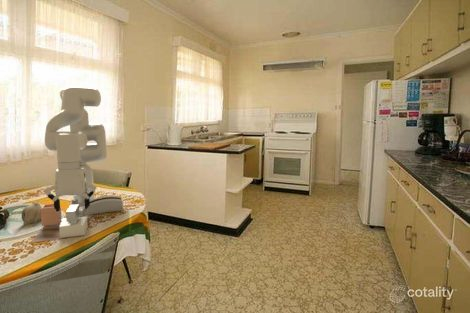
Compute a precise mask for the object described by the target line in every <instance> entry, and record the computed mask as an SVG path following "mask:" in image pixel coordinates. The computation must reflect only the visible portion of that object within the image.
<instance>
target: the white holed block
mask: <svg viewBox="0 0 470 313" xmlns="http://www.w3.org/2000/svg"><path fill="white" fill-rule="evenodd" d="M88 227H89V225H87V217H78V218H77V223H71V222H67V219H64V220H63V222H62V223H61V225H60V226H59V229H60V238H64V237H72V236H81V235H84V236H85V234H86V232H87V230H88Z"/></svg>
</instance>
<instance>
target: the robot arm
mask: <svg viewBox="0 0 470 313" xmlns="http://www.w3.org/2000/svg"><path fill="white" fill-rule="evenodd" d="M101 96H102V95H101V92H100V91H99V89H97V88H94V87H86V86H85V87H82V86H69V87H64V88H61V89H60V91H59V98H60V99H61V107H60V112H58V113H57V114H55V115H54V116H53V117H51V118H50V119H49V120H48V122H47V124H46V128H45V132H44V145H45V147H46V149H48V150H49V151H53V152H56V159H57V169H56V171H55V178H54V184H53V185H52V186H50V187H47V188H46V189H45V190H43V191H44V194H45V195H46V197H47V198H48V199H50V200H52V202H53V204H54V209H56V212H58V211H59V210H60V208H61V200H60V199H59V198H60V197H70V196H71V197H72V196H73V200H74V199H77V200H78V204H79V207H82V206H85V210H86V209H87V208H88V206H90V200H92V199H95V198H96V197H95V192H96V190H97V186H96V185H94V171H93V168H92V167H91V166H90V164H88V163H95V162H97V163H98V162H103V161H106V159H107V138H106V137H107V136H106V135H107V134H106V130H105V127H104V124H102V123H97V122H96V123H95V122H93V123H92V122H90V120H89V113H88V111H87V110H86V108H85V107H99V106H100V105H101V102H102V97H101ZM68 126H69V130H70V131H59V130H61V129H62V128H65V127H68ZM89 142H95V143H89ZM53 190H54V193H55V195H54V194H53V193H52V192H51V191H53ZM70 205H72V204H71V203H70Z"/></svg>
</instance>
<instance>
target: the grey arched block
mask: <svg viewBox="0 0 470 313" xmlns="http://www.w3.org/2000/svg"><path fill="white" fill-rule="evenodd" d="M94 198H95V199H92V200H90V206H88V208H87V209H85V215H86V216H90V215H95V214H102V213H110V212H120V211H121V212H123V211H124V203H123V198H122V197H121V196H118V195H117V196H116V195H105V196H104V195H103V196H99V197H94Z"/></svg>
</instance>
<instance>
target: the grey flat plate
mask: <svg viewBox="0 0 470 313" xmlns="http://www.w3.org/2000/svg"><path fill="white" fill-rule="evenodd" d="M91 220H92V217H91V216H89V219H88V221H87V225H88V226H89V225H90V222H91ZM41 227H42V228H41V229H40V230H39V231H38V232H37V234H36V235H35V236H34V238H33V239H32V240H31V241H30V243H38V242H47V241H55V240H56V241H57V240H64V239H72V238H73V239H74V238H82V237H85V235H81V236H72V237H64V238H60V229H59V228H55V229H45V230H43V227H44V226H41Z"/></svg>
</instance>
